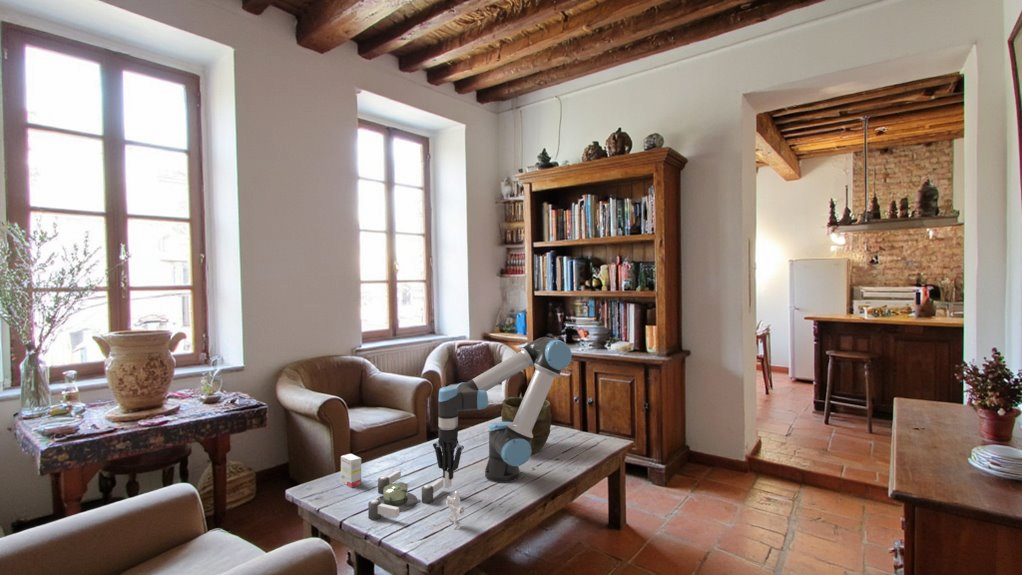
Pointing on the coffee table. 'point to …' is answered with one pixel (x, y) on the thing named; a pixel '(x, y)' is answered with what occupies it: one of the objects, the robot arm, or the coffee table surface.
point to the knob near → (431, 490)
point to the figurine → (454, 508)
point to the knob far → (388, 480)
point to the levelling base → (398, 496)
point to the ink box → (350, 470)
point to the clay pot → (541, 424)
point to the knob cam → (381, 510)
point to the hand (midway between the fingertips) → (448, 486)
